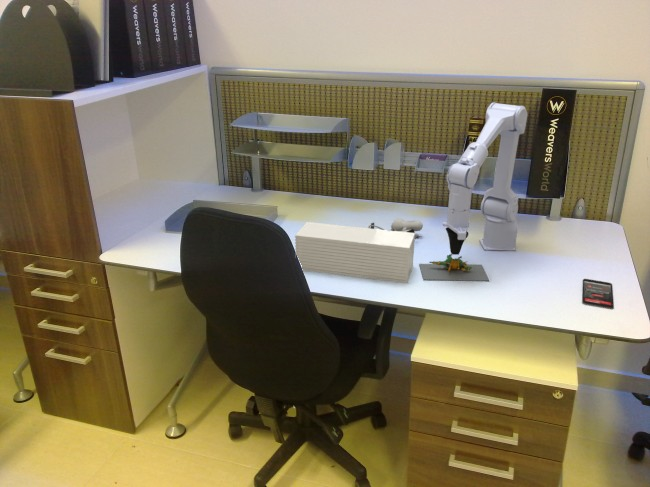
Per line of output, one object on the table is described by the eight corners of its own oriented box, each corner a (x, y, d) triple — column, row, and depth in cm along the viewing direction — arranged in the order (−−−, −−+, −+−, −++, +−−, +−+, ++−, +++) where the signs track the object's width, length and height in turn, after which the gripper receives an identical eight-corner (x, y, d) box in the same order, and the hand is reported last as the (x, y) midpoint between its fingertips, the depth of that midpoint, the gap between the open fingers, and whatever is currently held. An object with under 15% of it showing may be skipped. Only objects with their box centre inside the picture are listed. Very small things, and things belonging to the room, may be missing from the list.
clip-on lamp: (362, 246, 187) (414, 245, 177) (358, 228, 184) (410, 226, 175) (377, 230, 196) (427, 229, 186) (373, 213, 193) (423, 211, 184)
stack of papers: (412, 267, 166) (415, 233, 161) (407, 283, 156) (409, 247, 152) (307, 254, 174) (306, 221, 169) (296, 269, 164) (295, 235, 160)
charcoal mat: (481, 265, 166) (481, 264, 166) (489, 281, 157) (489, 280, 157) (419, 264, 167) (419, 263, 167) (423, 280, 158) (423, 279, 157)
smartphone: (582, 302, 145) (582, 278, 158) (581, 305, 145) (582, 280, 158) (614, 308, 142) (612, 283, 155) (613, 311, 143) (611, 285, 155)
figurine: (470, 265, 166) (471, 278, 159) (428, 259, 168) (427, 272, 161) (472, 256, 165) (473, 268, 158) (430, 250, 167) (429, 262, 159)
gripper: (440, 198, 161) (436, 243, 167) (448, 217, 148) (444, 264, 154) (465, 198, 161) (461, 243, 167) (476, 217, 148) (470, 265, 153)
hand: (454, 253), depth 160 cm, fingers closed
